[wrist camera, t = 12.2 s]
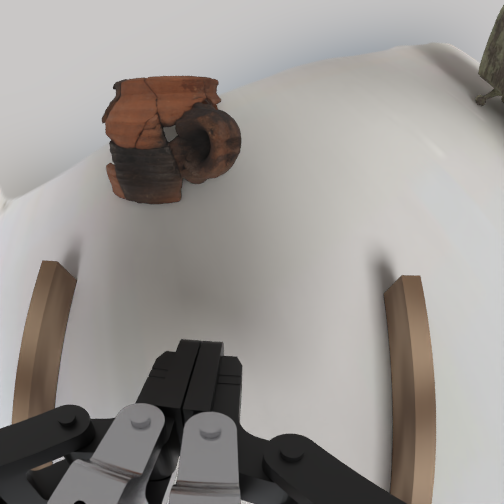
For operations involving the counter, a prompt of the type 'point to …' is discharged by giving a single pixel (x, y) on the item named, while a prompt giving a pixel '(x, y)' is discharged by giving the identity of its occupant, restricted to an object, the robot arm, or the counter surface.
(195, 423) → the robot arm
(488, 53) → the tabletop clock
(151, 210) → the counter surface
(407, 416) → the walnut mug dock
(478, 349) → the counter surface
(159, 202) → the pottery mug
